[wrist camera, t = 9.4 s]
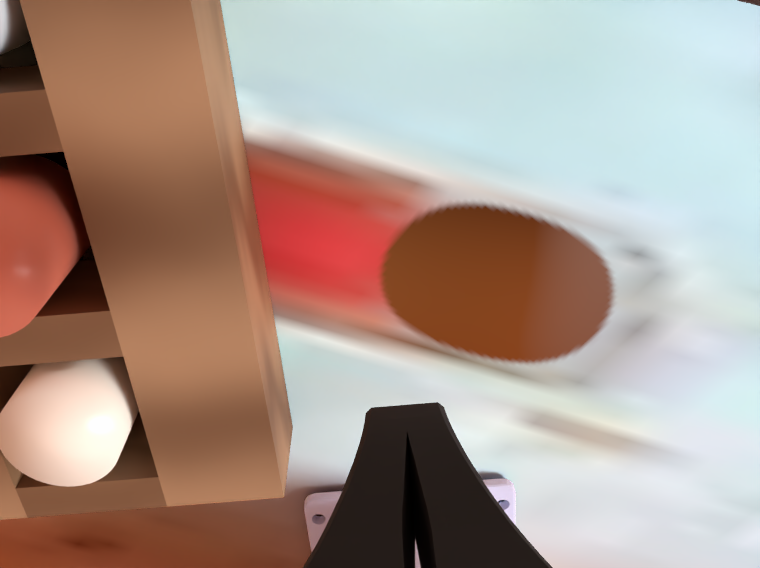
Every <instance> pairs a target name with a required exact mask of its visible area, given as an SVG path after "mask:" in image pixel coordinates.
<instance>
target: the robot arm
mask: <svg viewBox="0 0 760 568" xmlns="http://www.w3.org/2000/svg"><path fill="white" fill-rule="evenodd" d="M500 500H506V501H504V502H498V501H500ZM304 513H305V519H306V525H307V530H308V536H309V542H310V548H311V555H310V557H309V558H308V560H307V562H306V563H305V565H304V567H303V568H552V567H551V566H550V564H549V563H548V562H547V561H546V560H545V559H544V558H543V557H542V556H541V555H540V554H539V553H538V551H537V550H536V549H535V548H534V547H533V546H532V545H531V543H530V542H529V541H528V540H527V539H526V538H525V537H524V535H523V534H522V533H521V532H520V530H519V529H518V528H517V527H516V526H515V516H516V492H515V488H514V484H513V483H512V482H511V481H510V480H508V479H488V480H482V479H481V477H480V476H479V474H478V472H477V471H476V469H475V468H474V466H473V465H472V463H471V462H470V460H469V458H468V457H467V455H466V453H465V451H464V450H463V448H462V446H461V444H460V442H459V440H458V439H457V437H456V435H455V433H454V431H453V429H452V427H451V424H450V422H449V420H448V417H447V415H446V412H445V409H444V407H443V406H442V405H440V404H439V403H438V402H437V403H425V404H412V405H400V406H387V407H375V408H371V409H370V410H369V411H368V412H367V413H366V416H365V424H364V428H363V433H362V437H361V440H360V444H359V447H358V450H357V453H356V456H355V459H354V462H353V465H352V467H351V470H350V472H349V475H348V478H347V480H346V483H345V485H344V488H343V490H342V491H336V492H323V493H314V494H311V495H309V496H307V498H306V499H305V503H304ZM317 514H321V515H323V516H321V517H318V516H315V515H317Z"/></svg>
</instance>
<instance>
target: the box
mask: <svg viewBox="0 0 760 568" xmlns="http://www.w3.org/2000/svg"><path fill="white" fill-rule="evenodd" d="M738 1H741V2H746V3H751V4H754V5H758V6H760V0H738Z"/></svg>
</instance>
